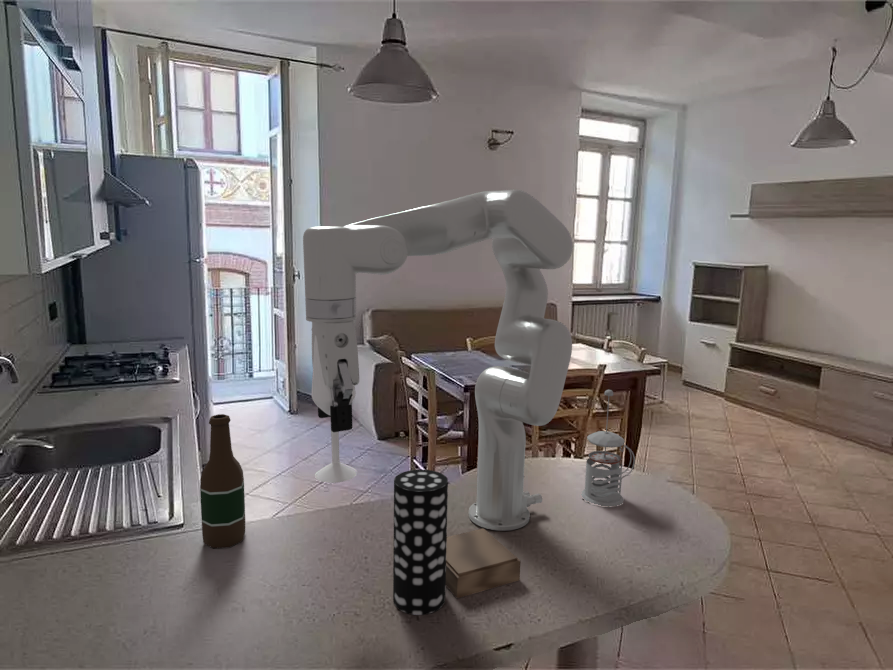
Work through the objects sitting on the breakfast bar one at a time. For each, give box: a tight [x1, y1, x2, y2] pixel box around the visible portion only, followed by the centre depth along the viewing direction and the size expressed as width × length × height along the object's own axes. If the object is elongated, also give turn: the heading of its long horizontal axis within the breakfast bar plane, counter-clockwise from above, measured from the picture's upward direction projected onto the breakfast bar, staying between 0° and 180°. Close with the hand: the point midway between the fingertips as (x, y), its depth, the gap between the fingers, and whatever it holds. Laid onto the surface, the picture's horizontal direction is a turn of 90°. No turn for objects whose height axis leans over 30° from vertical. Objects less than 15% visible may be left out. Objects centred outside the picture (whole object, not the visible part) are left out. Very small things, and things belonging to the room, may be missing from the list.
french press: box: [581, 389, 636, 507], centre depth 130 cm, size 10×12×25 cm
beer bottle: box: [199, 413, 246, 550], centre depth 108 cm, size 8×8×24 cm
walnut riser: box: [446, 527, 522, 599], centre depth 101 cm, size 12×12×4 cm
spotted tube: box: [392, 469, 449, 616], centre depth 92 cm, size 8×8×20 cm
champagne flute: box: [310, 335, 358, 484], centre depth 91 cm, size 7×7×24 cm
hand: (334, 422), depth 91 cm, fingers closed on champagne flute, 6 cm apart
